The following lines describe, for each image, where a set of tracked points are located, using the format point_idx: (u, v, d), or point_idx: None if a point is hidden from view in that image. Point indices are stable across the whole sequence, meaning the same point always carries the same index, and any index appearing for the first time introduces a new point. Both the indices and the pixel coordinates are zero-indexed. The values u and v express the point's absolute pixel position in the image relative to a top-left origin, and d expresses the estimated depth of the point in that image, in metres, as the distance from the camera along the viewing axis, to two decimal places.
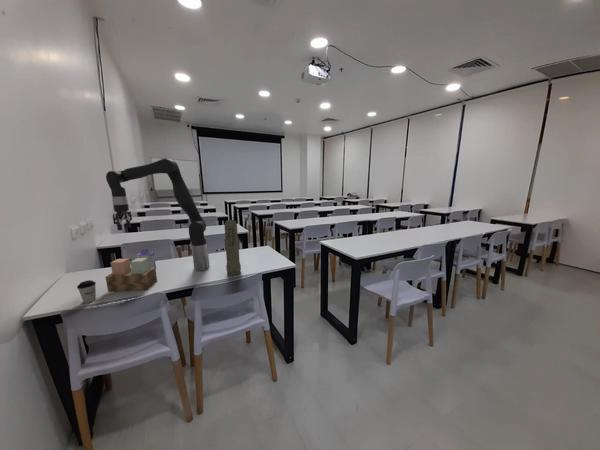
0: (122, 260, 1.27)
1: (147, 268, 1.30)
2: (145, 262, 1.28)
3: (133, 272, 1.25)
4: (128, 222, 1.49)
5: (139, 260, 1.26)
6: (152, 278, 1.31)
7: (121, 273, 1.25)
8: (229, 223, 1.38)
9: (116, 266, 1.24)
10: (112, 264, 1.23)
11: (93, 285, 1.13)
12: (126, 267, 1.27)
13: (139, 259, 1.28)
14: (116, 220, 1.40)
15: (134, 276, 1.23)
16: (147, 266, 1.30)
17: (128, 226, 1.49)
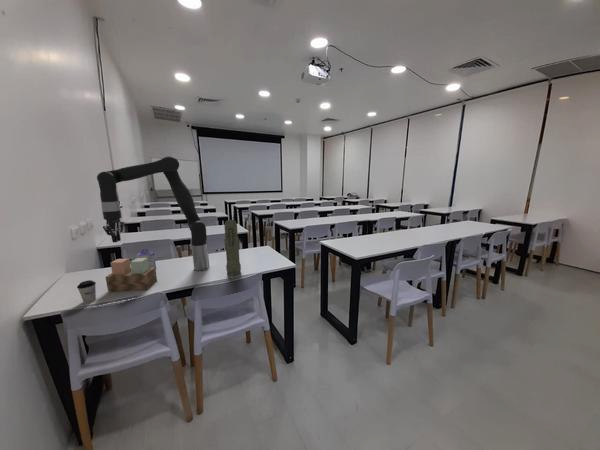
0: (122, 260, 1.27)
1: (147, 268, 1.30)
2: (145, 262, 1.28)
3: (133, 272, 1.25)
4: (117, 235, 1.24)
5: (139, 260, 1.26)
6: (152, 278, 1.31)
7: (121, 273, 1.25)
8: (229, 223, 1.38)
9: (116, 266, 1.24)
10: (112, 264, 1.23)
11: (93, 285, 1.13)
12: (126, 267, 1.27)
13: (139, 259, 1.28)
14: None
15: (134, 276, 1.23)
16: (147, 266, 1.30)
17: (117, 239, 1.25)
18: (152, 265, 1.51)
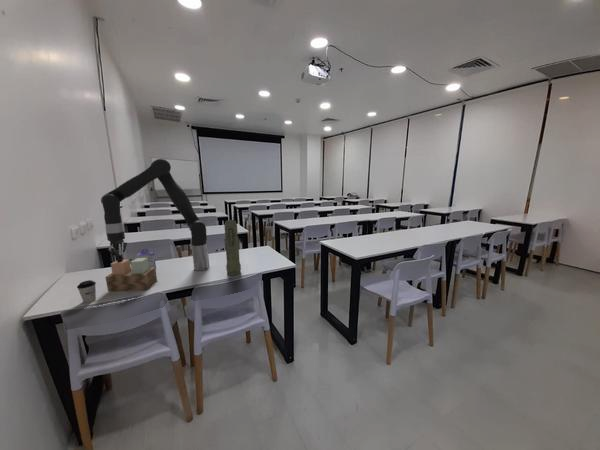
0: (122, 261, 1.27)
1: (147, 268, 1.30)
2: (145, 262, 1.28)
3: (133, 272, 1.25)
4: None
5: (139, 260, 1.26)
6: (152, 278, 1.31)
7: (121, 274, 1.25)
8: (229, 223, 1.38)
9: (117, 267, 1.24)
10: (112, 265, 1.23)
11: (93, 285, 1.13)
12: (126, 268, 1.27)
13: (139, 259, 1.28)
14: None
15: (134, 276, 1.23)
16: (147, 266, 1.30)
17: None
18: (152, 265, 1.51)
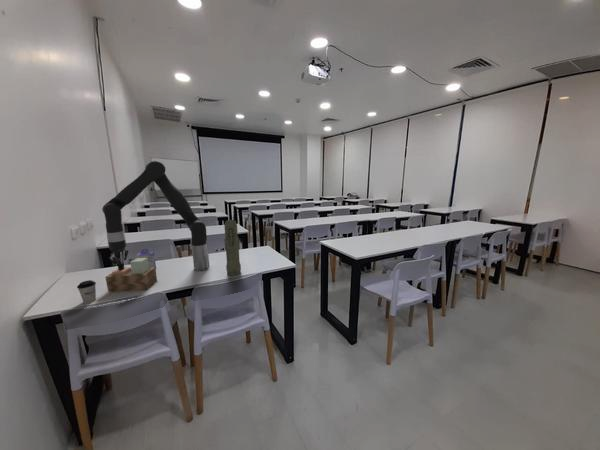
0: (124, 269, 1.28)
1: (147, 268, 1.30)
2: (145, 262, 1.28)
3: (133, 272, 1.25)
4: None
5: (139, 260, 1.26)
6: (152, 278, 1.31)
7: None
8: (229, 223, 1.38)
9: None
10: (114, 273, 1.24)
11: (93, 285, 1.13)
12: None
13: (139, 259, 1.28)
14: None
15: (134, 276, 1.23)
16: (147, 266, 1.30)
17: None
18: (152, 265, 1.51)
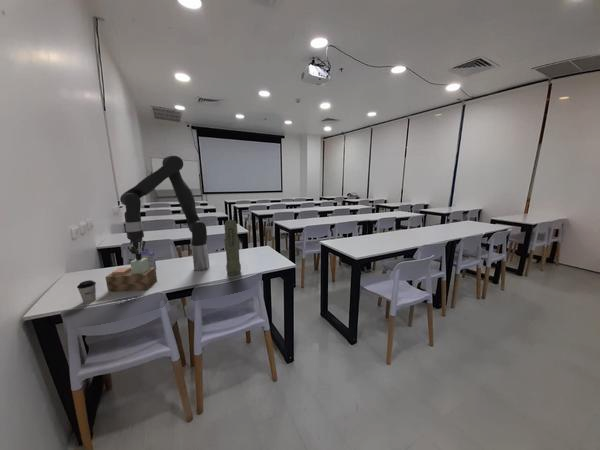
0: (124, 269, 1.28)
1: (147, 268, 1.30)
2: (145, 262, 1.28)
3: (133, 272, 1.25)
4: None
5: (139, 260, 1.26)
6: (152, 278, 1.31)
7: None
8: (229, 223, 1.38)
9: None
10: (114, 273, 1.24)
11: (93, 285, 1.13)
12: None
13: None
14: None
15: (134, 276, 1.23)
16: (147, 266, 1.30)
17: None
18: (152, 265, 1.51)
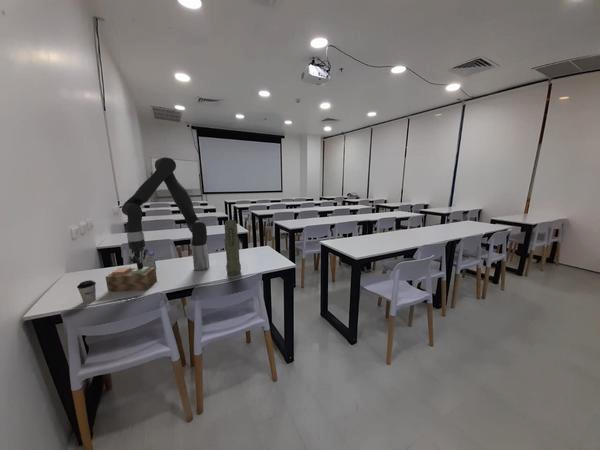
0: (124, 269, 1.28)
1: None
2: (146, 271, 1.29)
3: None
4: None
5: (140, 269, 1.27)
6: (152, 278, 1.31)
7: None
8: (229, 223, 1.38)
9: None
10: (114, 273, 1.24)
11: (93, 285, 1.13)
12: None
13: None
14: None
15: (134, 276, 1.23)
16: None
17: None
18: (152, 265, 1.51)
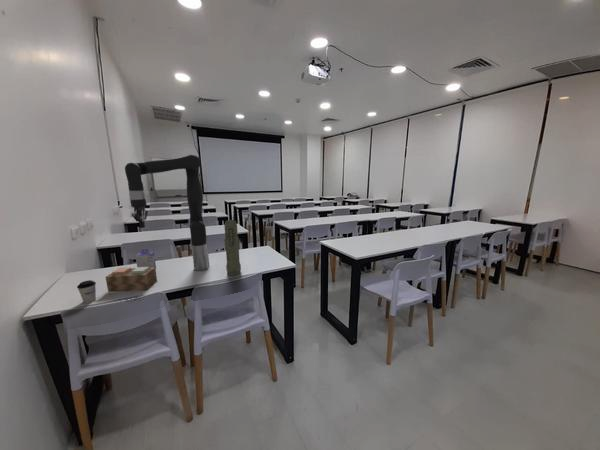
0: (124, 269, 1.28)
1: None
2: (146, 271, 1.29)
3: None
4: None
5: (140, 269, 1.27)
6: (152, 278, 1.31)
7: None
8: (229, 223, 1.38)
9: None
10: (114, 273, 1.24)
11: (93, 285, 1.13)
12: None
13: (140, 268, 1.29)
14: None
15: (134, 276, 1.23)
16: None
17: None
18: (152, 265, 1.51)
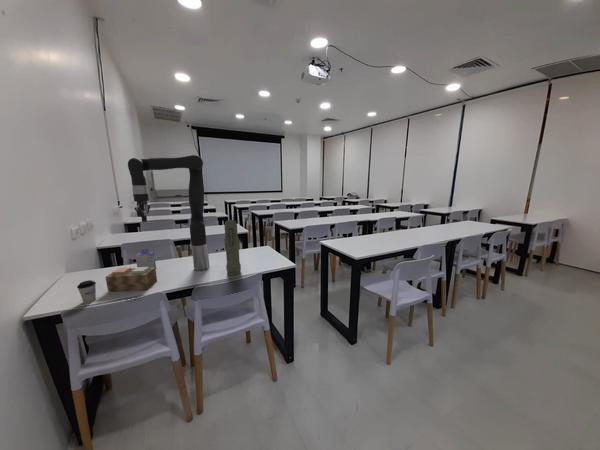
0: (124, 269, 1.28)
1: None
2: (146, 271, 1.29)
3: None
4: None
5: (140, 269, 1.27)
6: (152, 278, 1.31)
7: None
8: (229, 223, 1.38)
9: None
10: (114, 273, 1.24)
11: (93, 285, 1.13)
12: None
13: (140, 268, 1.29)
14: None
15: (134, 276, 1.23)
16: None
17: None
18: (152, 265, 1.51)
